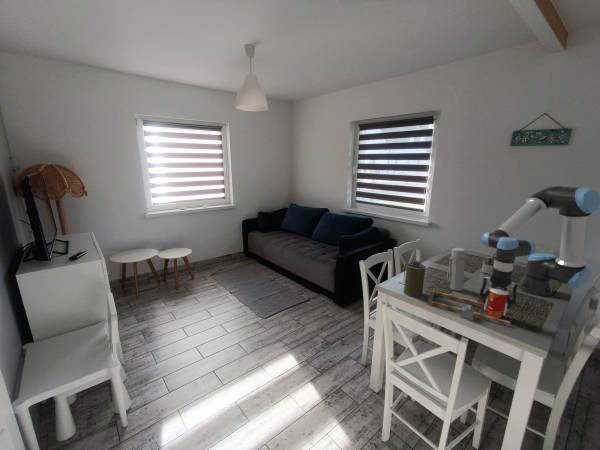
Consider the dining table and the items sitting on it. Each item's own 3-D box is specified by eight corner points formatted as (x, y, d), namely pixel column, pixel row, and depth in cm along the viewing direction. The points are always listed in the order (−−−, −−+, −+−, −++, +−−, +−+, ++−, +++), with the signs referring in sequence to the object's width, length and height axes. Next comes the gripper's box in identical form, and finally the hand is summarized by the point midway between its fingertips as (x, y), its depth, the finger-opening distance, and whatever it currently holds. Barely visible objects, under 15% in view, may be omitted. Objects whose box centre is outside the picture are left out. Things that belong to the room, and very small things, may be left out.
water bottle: (461, 286, 164) (463, 247, 159) (465, 292, 157) (467, 251, 152) (444, 285, 167) (446, 247, 162) (448, 291, 159) (449, 251, 154)
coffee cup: (484, 309, 139) (489, 282, 136) (504, 314, 134) (509, 287, 131) (482, 316, 133) (488, 288, 129) (503, 322, 128) (509, 293, 124)
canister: (423, 291, 158) (427, 260, 153) (421, 299, 149) (425, 266, 144) (404, 287, 163) (407, 256, 158) (401, 294, 154) (404, 262, 150)
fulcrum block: (473, 316, 132) (474, 306, 131) (472, 320, 129) (474, 310, 128) (461, 313, 135) (463, 303, 134) (460, 317, 132) (462, 307, 131)
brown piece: (507, 312, 136) (508, 308, 136) (509, 327, 124) (510, 322, 124) (432, 293, 156) (432, 289, 155) (427, 304, 144) (427, 299, 143)
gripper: (528, 271, 125) (519, 314, 130) (478, 262, 136) (471, 302, 142) (530, 276, 119) (520, 322, 124) (477, 266, 130) (470, 308, 136)
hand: (494, 311), depth 133 cm, fingers closed on coffee cup, 7 cm apart
